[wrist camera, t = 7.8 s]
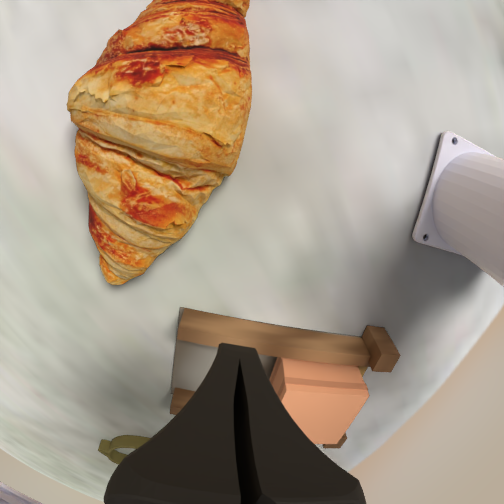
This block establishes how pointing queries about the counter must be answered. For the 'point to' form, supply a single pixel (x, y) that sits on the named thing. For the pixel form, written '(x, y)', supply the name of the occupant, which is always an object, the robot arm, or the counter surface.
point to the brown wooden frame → (268, 349)
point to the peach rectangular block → (319, 396)
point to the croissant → (160, 126)
